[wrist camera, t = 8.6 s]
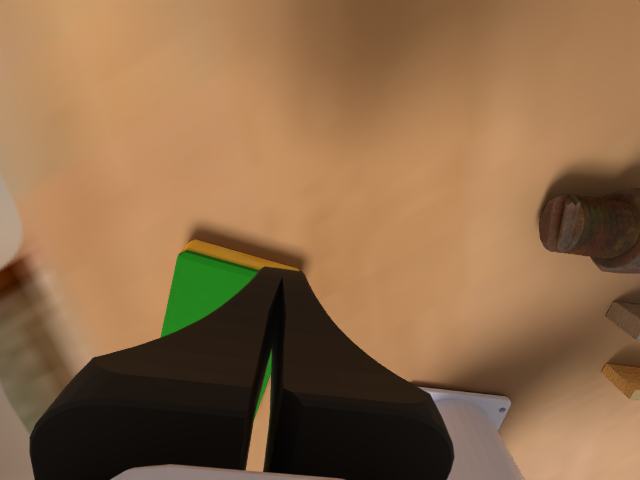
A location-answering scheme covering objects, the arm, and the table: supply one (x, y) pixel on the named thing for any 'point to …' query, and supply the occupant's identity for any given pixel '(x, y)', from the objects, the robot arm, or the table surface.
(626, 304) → the grey u-shaped bracket
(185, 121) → the table surface
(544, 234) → the bolt
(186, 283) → the dish sponge
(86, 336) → the table surface
